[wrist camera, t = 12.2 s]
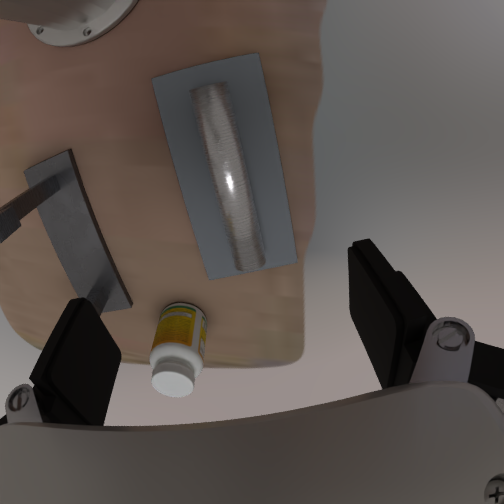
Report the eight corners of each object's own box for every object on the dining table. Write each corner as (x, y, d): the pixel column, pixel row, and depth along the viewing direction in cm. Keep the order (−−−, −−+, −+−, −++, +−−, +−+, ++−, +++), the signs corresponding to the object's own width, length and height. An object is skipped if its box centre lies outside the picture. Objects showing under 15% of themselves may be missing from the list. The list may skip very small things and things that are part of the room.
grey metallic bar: (190, 91, 23) (186, 90, 20) (226, 82, 23) (227, 80, 20) (233, 258, 31) (235, 274, 28) (264, 251, 31) (268, 267, 28)
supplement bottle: (216, 322, 35) (214, 389, 27) (184, 342, 37) (175, 407, 28) (182, 292, 33) (169, 359, 25) (151, 316, 35) (133, 381, 26)
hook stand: (27, 168, 25) (-57, 220, 14) (71, 148, 25) (-17, 195, 14) (90, 310, 34) (51, 395, 22) (132, 303, 34) (100, 395, 22)
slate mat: (153, 79, 23) (151, 78, 22) (257, 53, 22) (258, 52, 22) (209, 277, 32) (209, 280, 32) (296, 259, 32) (297, 262, 31)
